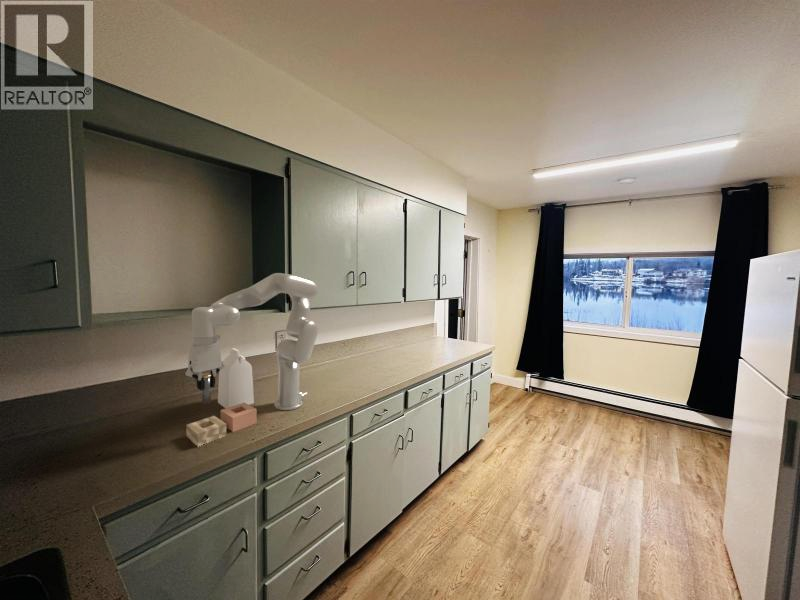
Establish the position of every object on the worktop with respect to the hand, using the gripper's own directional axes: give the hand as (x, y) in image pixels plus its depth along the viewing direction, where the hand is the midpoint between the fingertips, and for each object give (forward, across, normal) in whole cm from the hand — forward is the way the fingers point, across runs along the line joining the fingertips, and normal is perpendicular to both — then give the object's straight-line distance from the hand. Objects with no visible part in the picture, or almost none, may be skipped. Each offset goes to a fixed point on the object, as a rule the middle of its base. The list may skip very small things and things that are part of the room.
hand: (206, 387), depth 123 cm
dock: (+20, -13, -1) cm, 23 cm away
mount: (+20, 0, 0) cm, 20 cm away
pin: (+6, 0, 0) cm, 6 cm away
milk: (+20, -22, -21) cm, 36 cm away
